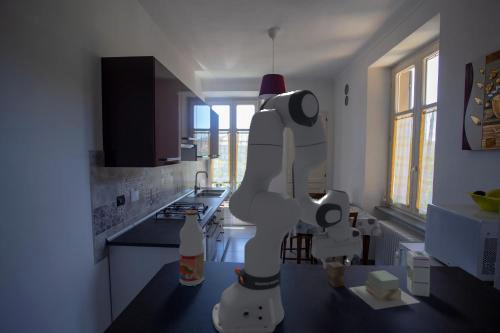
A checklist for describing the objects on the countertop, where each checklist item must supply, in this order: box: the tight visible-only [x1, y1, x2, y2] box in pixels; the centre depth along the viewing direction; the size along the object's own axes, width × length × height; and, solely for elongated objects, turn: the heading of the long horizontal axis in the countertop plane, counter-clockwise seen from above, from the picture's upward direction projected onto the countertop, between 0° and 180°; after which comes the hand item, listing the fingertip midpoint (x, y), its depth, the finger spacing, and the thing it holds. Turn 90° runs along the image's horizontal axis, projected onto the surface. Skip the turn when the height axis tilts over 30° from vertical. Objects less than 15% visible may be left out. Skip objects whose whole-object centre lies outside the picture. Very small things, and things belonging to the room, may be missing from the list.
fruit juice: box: [178, 209, 205, 286], centre depth 102 cm, size 9×9×28 cm
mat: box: [348, 285, 421, 310], centre depth 93 cm, size 18×14×1 cm
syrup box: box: [406, 250, 431, 297], centre depth 95 cm, size 6×6×14 cm
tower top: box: [367, 269, 400, 291], centre depth 93 cm, size 7×7×4 cm
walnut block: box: [326, 261, 346, 288], centre depth 101 cm, size 4×4×8 cm
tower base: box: [365, 280, 402, 302], centre depth 93 cm, size 8×8×4 cm
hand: (336, 266), depth 101 cm, fingers open, 8 cm apart
